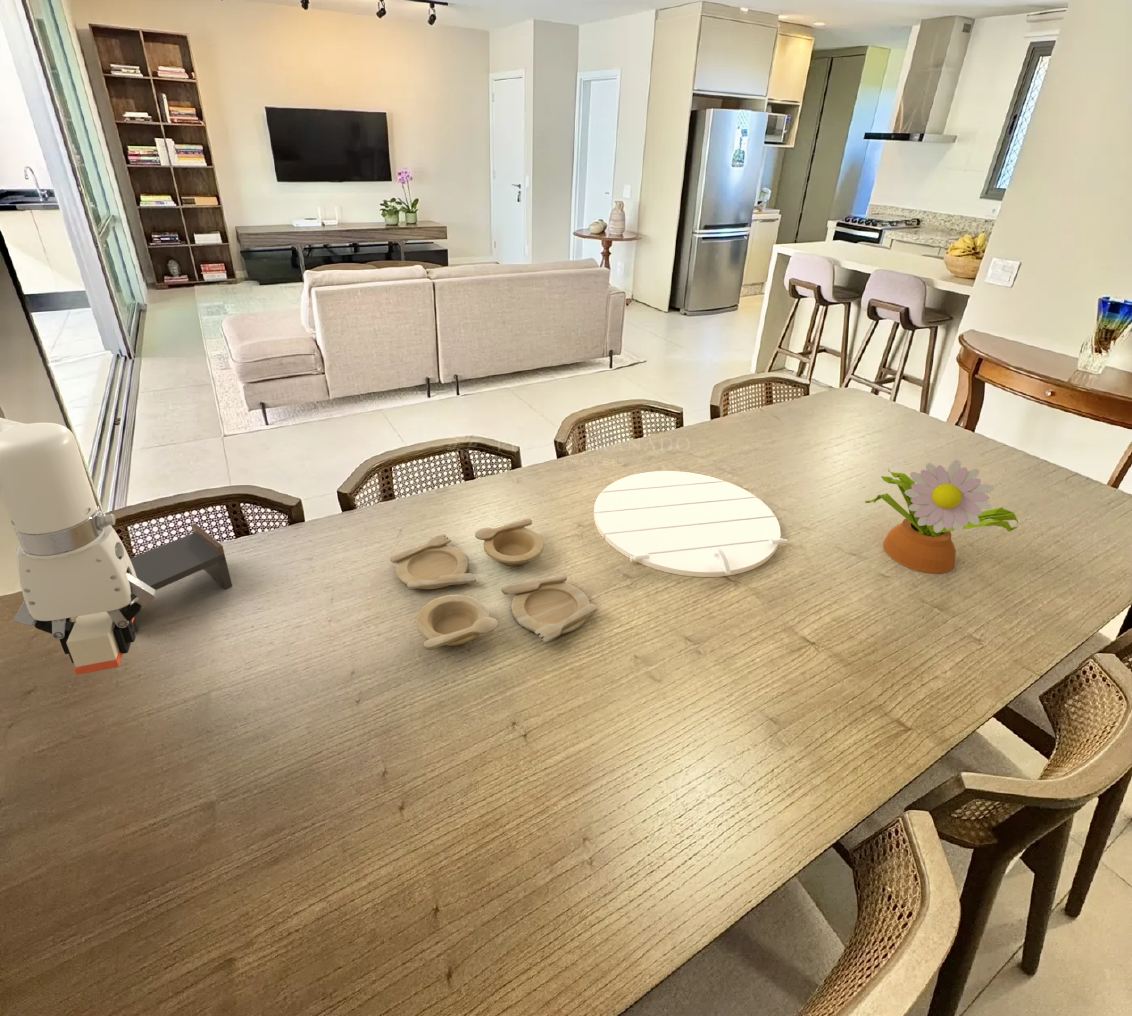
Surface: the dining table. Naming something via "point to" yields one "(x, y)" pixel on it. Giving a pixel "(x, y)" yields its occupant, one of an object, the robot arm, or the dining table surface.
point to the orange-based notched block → (94, 643)
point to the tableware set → (533, 606)
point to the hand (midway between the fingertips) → (103, 649)
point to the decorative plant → (938, 515)
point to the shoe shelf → (182, 561)
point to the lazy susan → (687, 524)
